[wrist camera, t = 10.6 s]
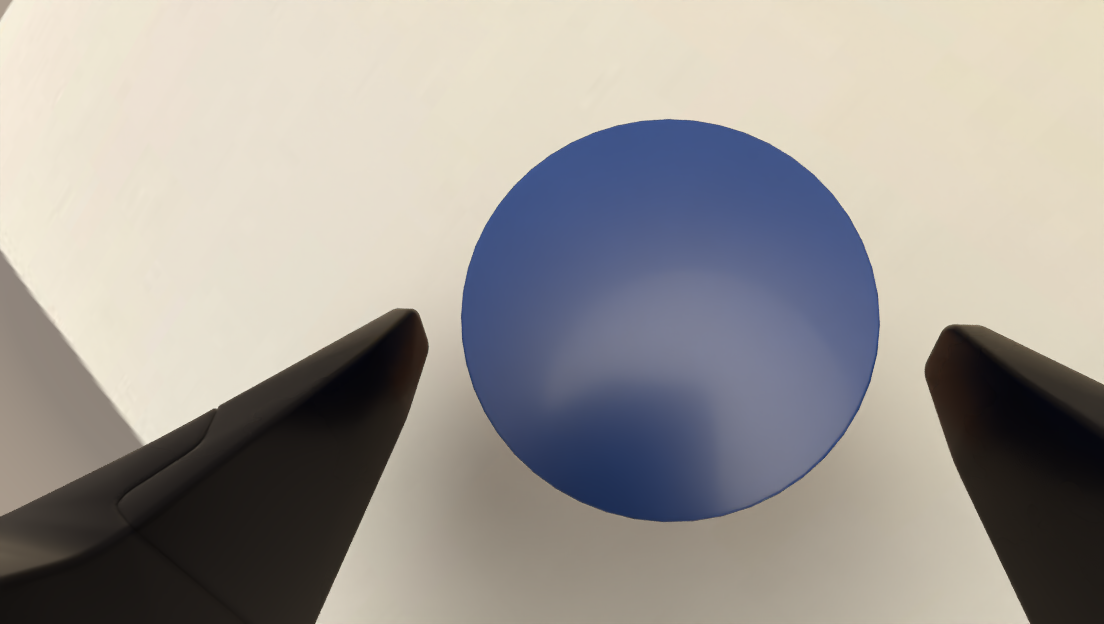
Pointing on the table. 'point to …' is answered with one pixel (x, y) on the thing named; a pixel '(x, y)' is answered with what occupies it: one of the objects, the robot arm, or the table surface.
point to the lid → (670, 320)
